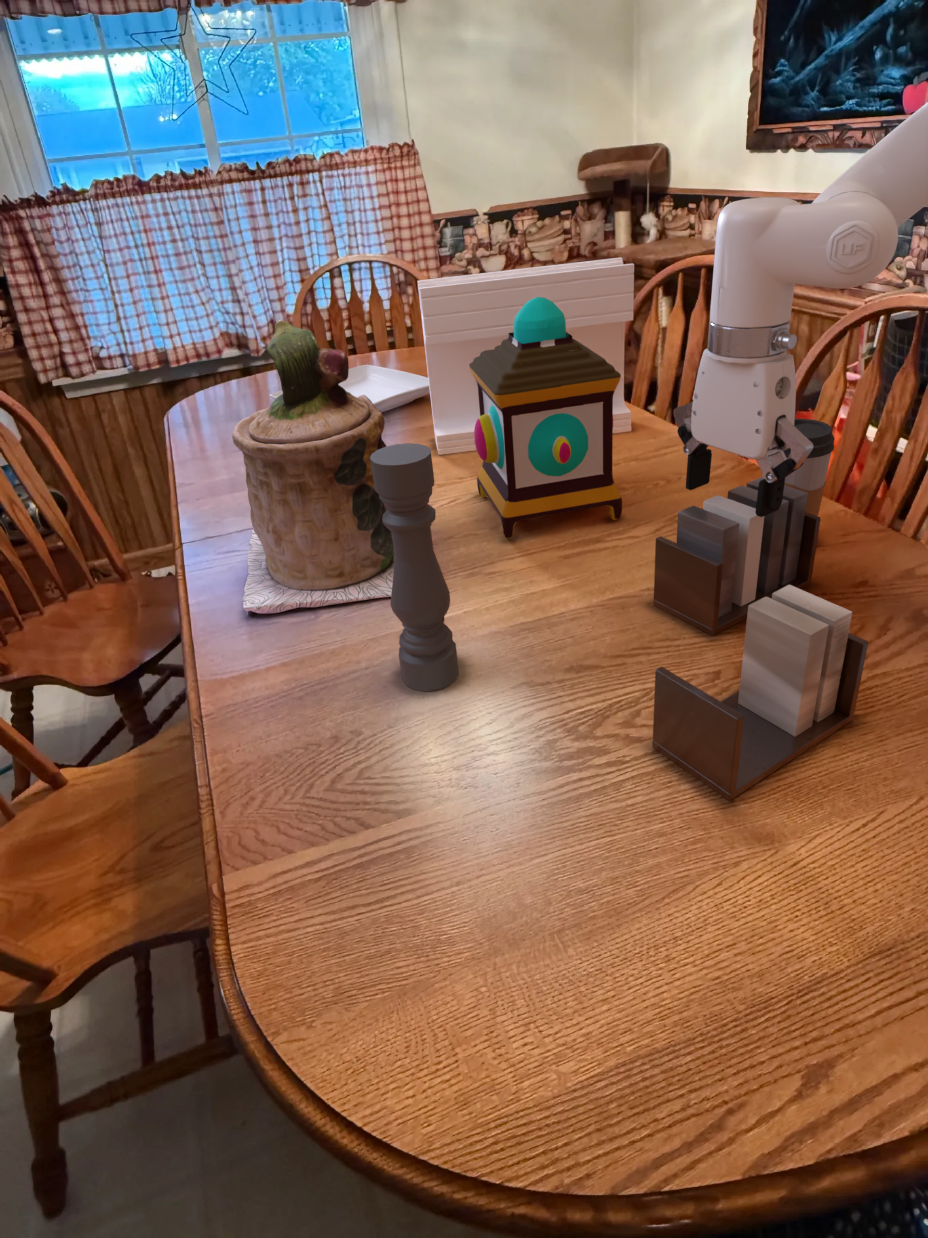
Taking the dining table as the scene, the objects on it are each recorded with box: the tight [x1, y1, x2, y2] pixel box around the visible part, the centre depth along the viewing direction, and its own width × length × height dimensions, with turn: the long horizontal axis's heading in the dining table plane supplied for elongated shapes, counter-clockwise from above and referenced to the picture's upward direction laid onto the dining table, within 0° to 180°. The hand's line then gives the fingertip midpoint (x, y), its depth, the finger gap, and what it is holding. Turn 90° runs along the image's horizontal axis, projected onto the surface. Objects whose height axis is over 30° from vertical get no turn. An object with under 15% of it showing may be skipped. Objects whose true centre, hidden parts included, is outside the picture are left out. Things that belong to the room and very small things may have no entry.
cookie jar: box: [231, 319, 395, 615], centre depth 105 cm, size 25×25×32 cm
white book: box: [702, 494, 764, 606], centre depth 93 cm, size 2×6×11 cm, turn 34°
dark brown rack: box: [651, 585, 869, 802], centre depth 73 cm, size 17×9×12 cm, turn 124°
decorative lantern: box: [469, 297, 623, 540], centre depth 115 cm, size 20×20×30 cm
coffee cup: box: [761, 418, 835, 517], centre depth 104 cm, size 8×8×15 cm
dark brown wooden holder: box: [652, 477, 821, 637], centre depth 94 cm, size 17×9×12 cm, turn 124°
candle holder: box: [370, 442, 460, 692], centre depth 82 cm, size 6×6×25 cm
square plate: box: [268, 364, 430, 414], centre depth 177 cm, size 27×27×4 cm
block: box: [417, 257, 635, 456], centre depth 143 cm, size 35×8×28 cm, turn 96°
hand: (731, 498), depth 90 cm, fingers open, 9 cm apart
